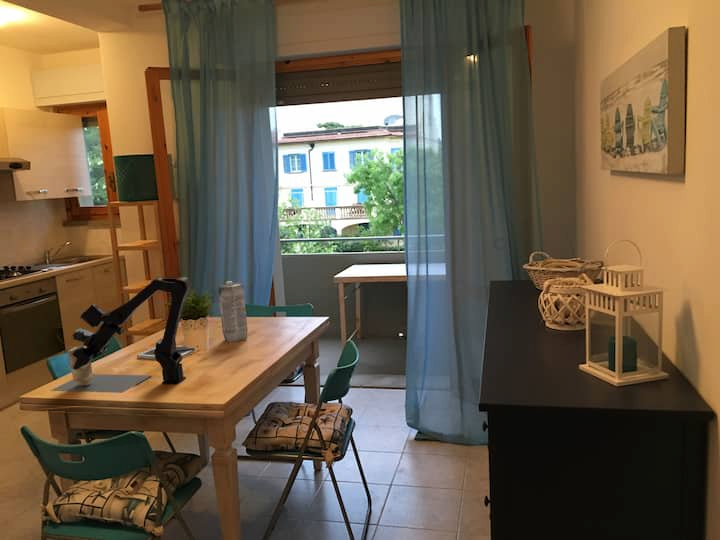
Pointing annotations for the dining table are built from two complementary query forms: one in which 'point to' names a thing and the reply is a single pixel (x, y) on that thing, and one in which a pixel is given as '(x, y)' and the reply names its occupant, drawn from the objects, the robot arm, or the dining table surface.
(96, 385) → the rubber mat
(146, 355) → the picture frame
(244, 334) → the juice carton
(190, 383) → the dining table surface
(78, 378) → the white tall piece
